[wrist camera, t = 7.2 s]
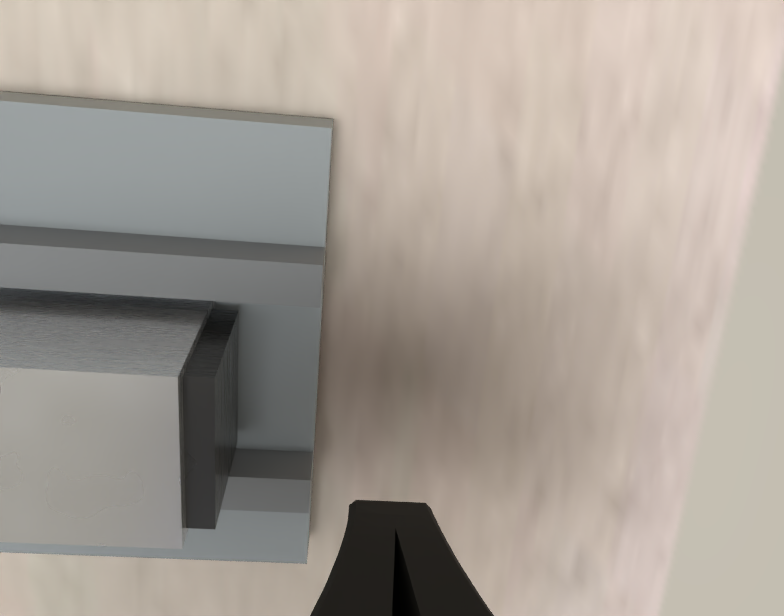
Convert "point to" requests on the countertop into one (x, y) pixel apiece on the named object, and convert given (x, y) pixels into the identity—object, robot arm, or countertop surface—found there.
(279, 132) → the gauge board
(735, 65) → the countertop surface
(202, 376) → the grey rail carriage
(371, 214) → the countertop surface
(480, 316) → the countertop surface
